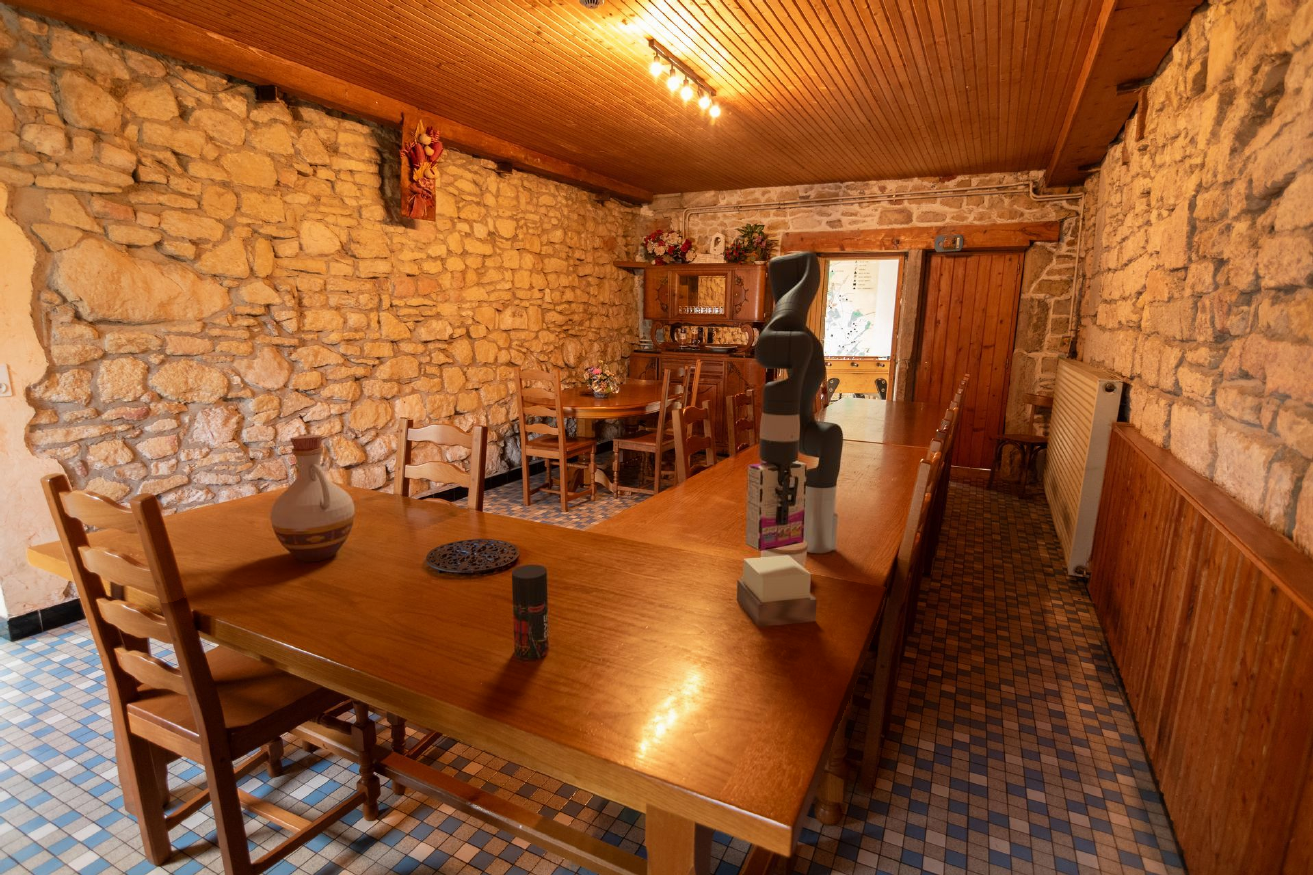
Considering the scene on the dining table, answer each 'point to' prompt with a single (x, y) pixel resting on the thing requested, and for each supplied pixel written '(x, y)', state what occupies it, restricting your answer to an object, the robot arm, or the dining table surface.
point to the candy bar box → (773, 508)
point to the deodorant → (530, 612)
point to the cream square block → (776, 578)
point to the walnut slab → (776, 608)
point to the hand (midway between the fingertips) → (775, 519)
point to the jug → (312, 507)
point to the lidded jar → (789, 552)
